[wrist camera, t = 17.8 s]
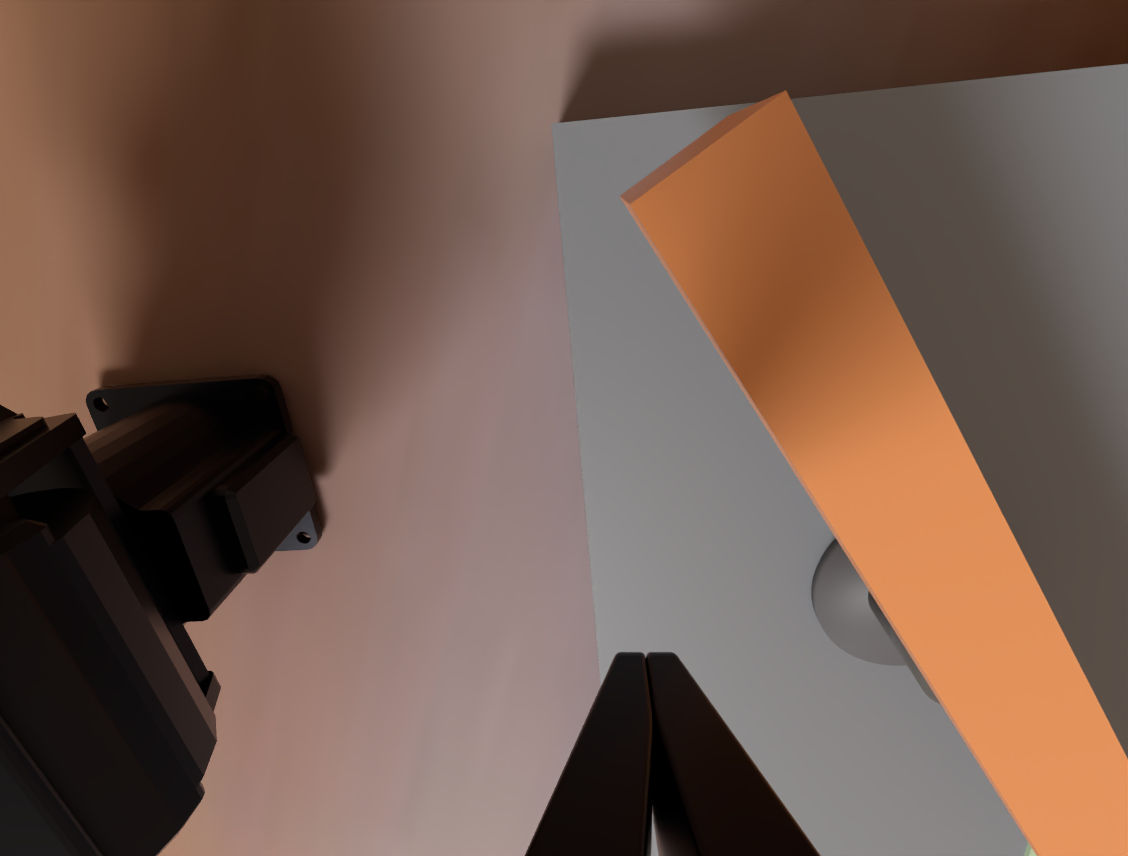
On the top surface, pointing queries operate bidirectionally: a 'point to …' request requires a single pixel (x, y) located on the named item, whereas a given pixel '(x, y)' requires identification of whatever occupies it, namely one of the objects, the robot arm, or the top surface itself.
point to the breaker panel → (771, 488)
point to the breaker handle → (884, 463)
